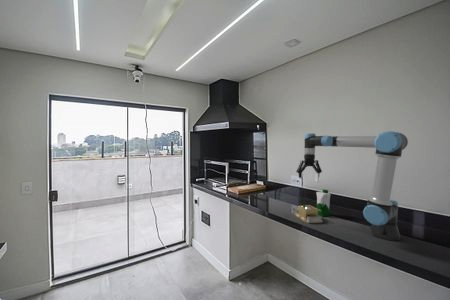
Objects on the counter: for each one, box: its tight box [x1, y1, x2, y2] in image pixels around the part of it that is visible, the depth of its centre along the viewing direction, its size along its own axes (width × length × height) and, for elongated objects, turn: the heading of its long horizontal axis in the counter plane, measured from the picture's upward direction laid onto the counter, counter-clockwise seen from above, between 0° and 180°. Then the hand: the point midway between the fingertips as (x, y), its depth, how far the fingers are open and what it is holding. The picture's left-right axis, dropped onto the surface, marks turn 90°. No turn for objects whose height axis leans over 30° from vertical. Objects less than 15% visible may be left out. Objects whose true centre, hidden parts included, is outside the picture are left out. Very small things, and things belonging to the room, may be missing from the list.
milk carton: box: [316, 189, 331, 218], centre depth 167 cm, size 9×9×20 cm
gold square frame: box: [297, 204, 319, 219], centre depth 158 cm, size 10×10×7 cm
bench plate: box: [293, 212, 324, 224], centre depth 158 cm, size 19×12×2 cm, turn 12°
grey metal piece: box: [294, 206, 323, 221], centre depth 158 cm, size 19×10×7 cm, turn 12°
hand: (308, 181), depth 157 cm, fingers open, 13 cm apart
